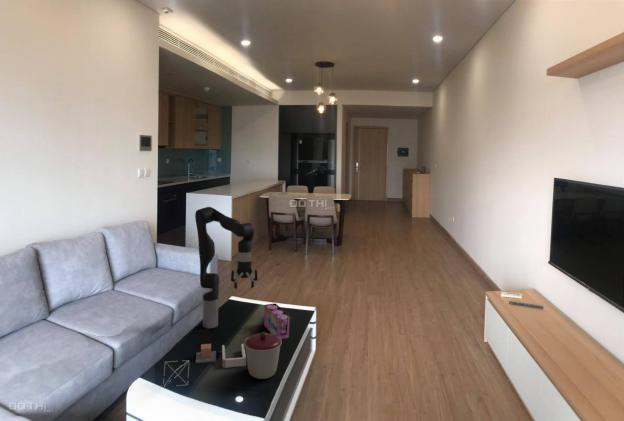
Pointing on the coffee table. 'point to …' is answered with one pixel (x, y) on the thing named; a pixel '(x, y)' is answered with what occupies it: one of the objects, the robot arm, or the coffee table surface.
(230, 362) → the grey arch handle
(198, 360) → the slate coaster
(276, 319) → the gum box
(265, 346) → the canister
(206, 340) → the coffee table surface
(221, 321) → the coffee table surface
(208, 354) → the terracotta block
